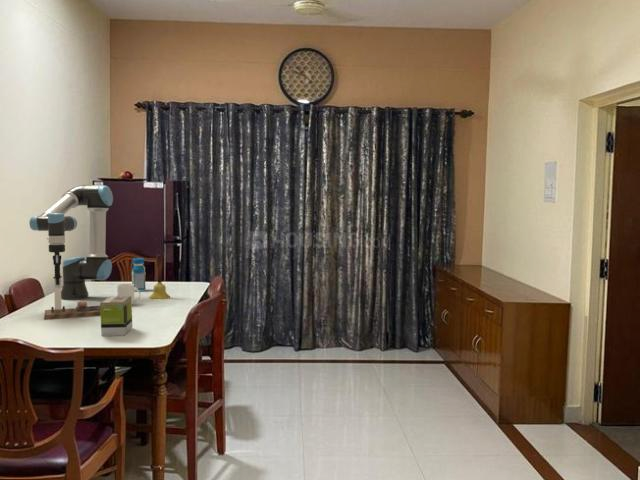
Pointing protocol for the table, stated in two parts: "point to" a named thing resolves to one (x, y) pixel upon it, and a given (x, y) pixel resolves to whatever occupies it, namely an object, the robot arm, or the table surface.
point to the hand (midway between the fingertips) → (57, 290)
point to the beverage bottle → (138, 274)
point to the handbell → (159, 283)
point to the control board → (72, 312)
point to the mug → (127, 291)
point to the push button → (82, 304)
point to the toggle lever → (57, 298)
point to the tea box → (116, 315)
